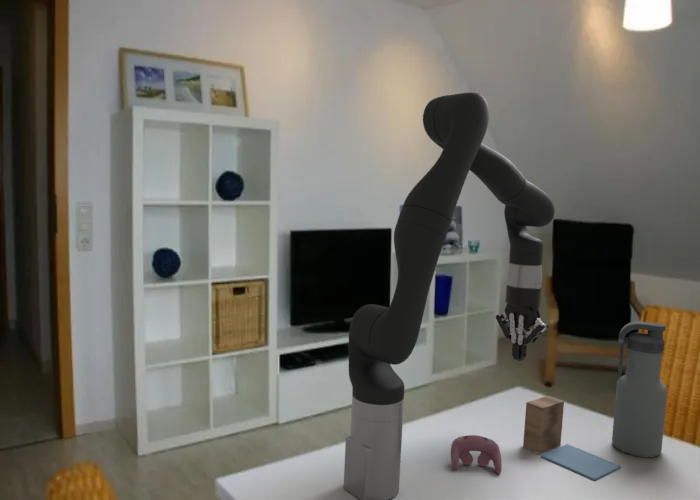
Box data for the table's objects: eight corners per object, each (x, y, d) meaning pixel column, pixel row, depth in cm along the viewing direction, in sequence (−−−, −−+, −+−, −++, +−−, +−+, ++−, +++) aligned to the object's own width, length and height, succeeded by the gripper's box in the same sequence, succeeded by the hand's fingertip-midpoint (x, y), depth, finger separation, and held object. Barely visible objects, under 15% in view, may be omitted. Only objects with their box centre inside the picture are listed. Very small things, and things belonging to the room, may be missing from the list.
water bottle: (608, 450, 124) (619, 324, 121) (610, 435, 132) (621, 316, 130) (661, 462, 119) (674, 331, 116) (660, 445, 127) (672, 322, 125)
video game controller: (499, 474, 114) (498, 438, 116) (503, 474, 110) (502, 436, 112) (449, 470, 115) (449, 434, 117) (451, 470, 111) (452, 432, 113)
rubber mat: (594, 480, 110) (594, 478, 110) (540, 456, 119) (540, 454, 119) (620, 467, 116) (621, 465, 116) (567, 445, 125) (567, 444, 125)
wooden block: (539, 454, 121) (542, 408, 120) (521, 446, 124) (525, 401, 123) (560, 445, 125) (564, 401, 125) (543, 438, 129) (546, 395, 128)
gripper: (489, 280, 130) (484, 355, 132) (539, 289, 120) (534, 370, 121) (509, 278, 135) (505, 350, 136) (560, 287, 124) (554, 364, 126)
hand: (518, 359), depth 129 cm, fingers closed
